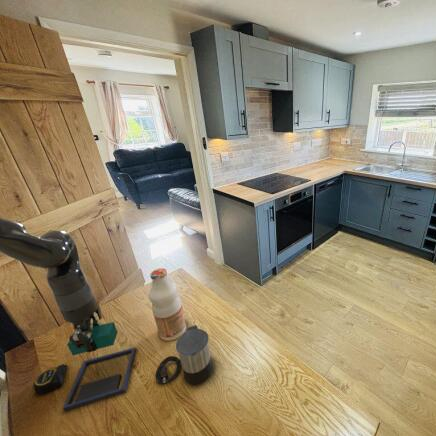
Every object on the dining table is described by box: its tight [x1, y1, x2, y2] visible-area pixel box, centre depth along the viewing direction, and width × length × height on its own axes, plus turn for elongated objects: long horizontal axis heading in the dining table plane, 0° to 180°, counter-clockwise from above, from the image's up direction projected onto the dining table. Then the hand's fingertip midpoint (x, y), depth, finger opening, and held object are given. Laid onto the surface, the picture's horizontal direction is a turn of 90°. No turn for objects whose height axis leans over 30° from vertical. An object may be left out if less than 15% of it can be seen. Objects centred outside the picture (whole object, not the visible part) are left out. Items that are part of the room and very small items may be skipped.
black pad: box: [74, 373, 122, 402], centre depth 71 cm, size 10×5×2 cm, turn 111°
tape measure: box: [32, 363, 69, 395], centre depth 72 cm, size 7×7×4 cm
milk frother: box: [155, 324, 214, 386], centre depth 74 cm, size 14×16×15 cm
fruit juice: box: [148, 267, 187, 342], centre depth 86 cm, size 9×9×28 cm
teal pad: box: [66, 321, 118, 356], centre depth 72 cm, size 10×5×5 cm, turn 111°
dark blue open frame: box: [62, 347, 137, 412], centre depth 74 cm, size 15×15×2 cm
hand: (95, 342), depth 72 cm, fingers closed on teal pad, 5 cm apart
